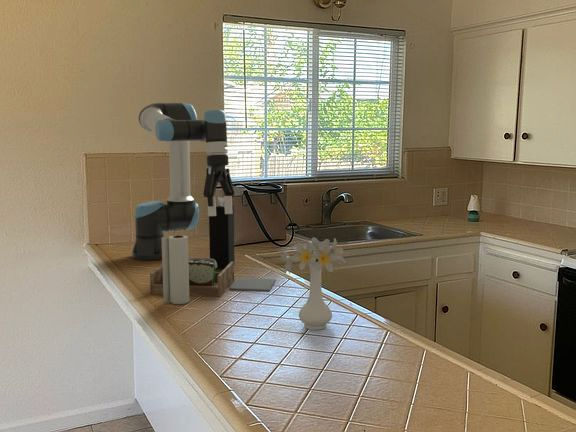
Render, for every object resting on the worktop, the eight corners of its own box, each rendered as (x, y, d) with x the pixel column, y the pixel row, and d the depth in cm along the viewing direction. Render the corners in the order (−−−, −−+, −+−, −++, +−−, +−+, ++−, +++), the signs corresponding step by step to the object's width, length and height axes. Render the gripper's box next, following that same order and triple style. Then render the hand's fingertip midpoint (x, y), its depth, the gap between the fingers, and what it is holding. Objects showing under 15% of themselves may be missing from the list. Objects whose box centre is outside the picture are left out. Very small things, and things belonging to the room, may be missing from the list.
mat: (237, 279, 222) (237, 277, 222) (275, 280, 220) (275, 279, 220) (229, 289, 208) (229, 288, 208) (269, 291, 207) (269, 289, 207)
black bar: (229, 270, 237) (227, 198, 232) (209, 269, 238) (208, 198, 234) (234, 265, 244) (233, 196, 240) (216, 264, 246) (214, 195, 241)
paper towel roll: (193, 300, 196) (191, 235, 192) (182, 305, 190) (180, 238, 187) (174, 298, 199) (172, 233, 195) (163, 303, 193) (161, 236, 190)
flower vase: (274, 325, 172) (273, 238, 168) (330, 316, 180) (331, 233, 176) (294, 339, 160) (295, 246, 157) (354, 329, 168) (355, 240, 165)
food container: (223, 286, 213) (223, 258, 211) (216, 291, 207) (215, 262, 205) (192, 283, 217) (191, 256, 215) (183, 288, 211) (183, 259, 209)
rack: (170, 278, 224) (169, 259, 223) (234, 280, 221) (233, 261, 220) (150, 293, 203) (150, 273, 202) (220, 296, 200) (220, 275, 199)
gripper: (211, 152, 201) (214, 216, 202) (241, 155, 224) (244, 212, 225) (190, 154, 203) (194, 217, 204) (222, 156, 227) (225, 213, 228)
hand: (220, 215), depth 215 cm, fingers open, 13 cm apart
